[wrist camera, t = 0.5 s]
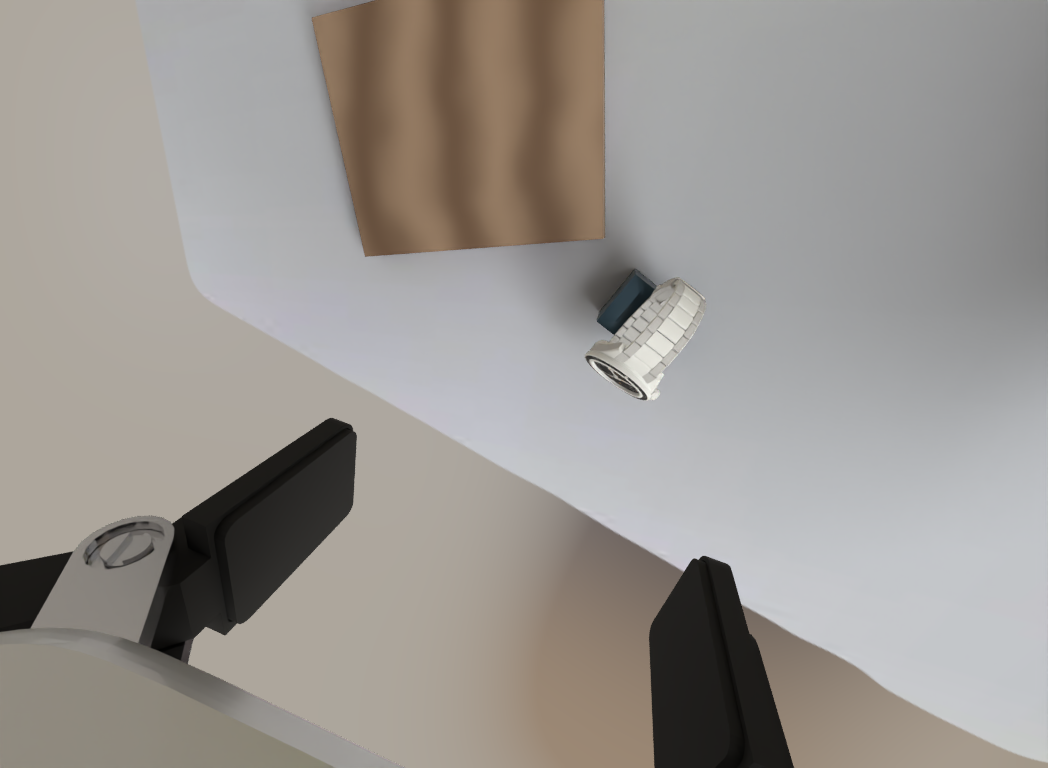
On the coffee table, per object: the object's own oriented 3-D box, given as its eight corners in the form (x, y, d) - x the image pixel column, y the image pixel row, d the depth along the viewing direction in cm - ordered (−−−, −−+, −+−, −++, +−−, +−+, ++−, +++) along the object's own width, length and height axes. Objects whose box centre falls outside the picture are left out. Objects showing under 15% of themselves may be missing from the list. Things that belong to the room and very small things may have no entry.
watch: (584, 330, 33) (565, 377, 23) (651, 249, 29) (661, 265, 20) (636, 370, 33) (638, 434, 24) (708, 295, 30) (746, 333, 20)
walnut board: (604, -41, 24) (601, -61, 22) (605, 237, 30) (603, 238, 28) (331, 30, 29) (311, 17, 27) (378, 254, 35) (365, 256, 33)
